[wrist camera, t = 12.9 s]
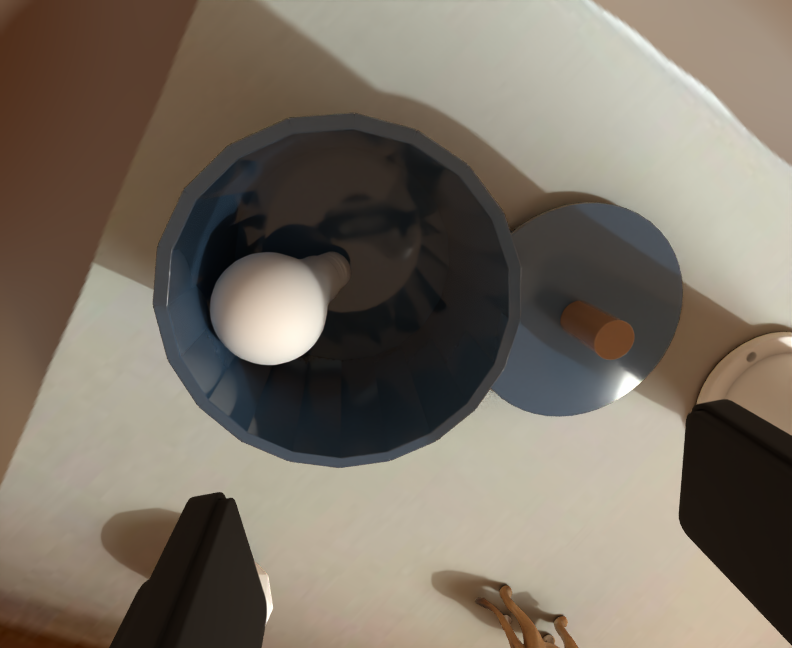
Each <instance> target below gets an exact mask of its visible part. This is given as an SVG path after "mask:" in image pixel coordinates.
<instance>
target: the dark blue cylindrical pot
mask: <svg viewBox="0 0 792 648" xmlns="http://www.w3.org/2000/svg"><path fill="white" fill-rule="evenodd" d="M263 252H274V253H280V254H284V255H287V256H291V257H294V258H297V259H303V258H306V257H308V256H318V255H321V254H323V253H327V252H337V253H339V254H341V255H342V256H344V257H345V258H346V260H347V261H348V263H349V265H350V268H351V277H350V279H349V281H348V282H347V284H346V285H345V286H343V287H342V288H341V289H340V290H339V292H338V294H337V296H336V297H335V298H334V299H333V300H332V301H331V302H330V303H329V304H328V308H327V316H326V321H325V325H324V328H323V331H322V333H321V334H320V336H319V338H318V340H317V341H316V343H315V344H314V345H313V346H312V347H311V348H310V349H309V350H308V351H307V352H306V353H305V354H303V355H302V356H300V357H298V358H296V359H294V360H292V361H289V362H286V363H282V364H277V365H262V364H256V363H252V362H249V361H247V360H244V359H241V358H240V357H238V356H236V355H234V354H233V353H232V352H231V351H229V350H228V349H227V348H226V347H225V346H224V345H223V343H222V342H221V341H220V339H219V338H218V336H217V334H216V332H215V330H214V328H213V325H212V322H211V318H210V301H211V295H212V292H213V289H214V286H215V283H216V282H217V280H218V279H219V277H220V276H221V274H222V273H223V272H224V271H225V270H226V269H227V268H228V267H229V266H230V265H232V264H233V263H234V262H235V261H237V260H239V259H241V258H243V257H245V256H248V255H250V254H255V253H263ZM520 265H521V263H520V260H519V257H518V254H517V251H516V248H515V245H514V242H513V239H512V236H511V232H510V229H509V226H508V223H507V220H506V217H505V214H504V212H503V210H502V209H501V208H500V206H499V205H498V204H497V202H496V201H495V199H494V198H493V197H492V195H491V194H490V193H489V191H488V190H487V189H486V187H485V186H484V185H483V183H482V182H481V181H480V179H479V178H478V177H477V175H476V174H475V173H474V171H473V170H472V169H471V167H470V166H469V165H468V164H467V163H465V162H464V161H463V160H461V159H460V158H458V157H457V156H455V155H454V154H452V153H451V152H449V151H448V150H446V149H445V148H443V147H442V146H441V145H439V144H438V143H436V142H435V141H433V140H432V139H430V138H429V137H427V136H426V135H424V134H423V133H421V132H420V131H419V130H417V131H416V129H414V128H410V127H406V126H403V125H399V124H395V123H391V122H388V121H384V120H380V119H377V118H373V117H369V116H365V115H362V114H358V113H355V114H354V113H342V114H329V115H316V116H303V117H290V118H289V119H288V118H287V119H284V120H282V121H280V122H278V123H276V124H273V125H271V126H269V127H267V128H265V129H262V130H260V131H258V132H256V133H254V134H251V135H249V136H247V137H245V138H242V139H240V140H238V141H236V142H234V143H231V144H230V146H229V145H228V146H227V147H226V148H225V149H224V150H223V151H222V152H221V153H220V154H219V155H218V156H217V157H216V158H215V159H214V160H213V161H212V162H211V163H210V164H209V165H208V166H206V167H205V168H204V169H203V170H202V171H201V172H200V173H199V174H198V175H197V176H196V177H195V178H194V179H193V180H192V181H191V182H190V183H189V184H188V185H187V186H186V187H185V188H184V190H183V191H182V193H181V196H180V198H179V200H178V202H177V204H176V206H175V208H174V211H173V213H172V215H171V217H170V219H169V221H168V224H167V226H166V228H165V230H164V232H163V234H162V237H161V239H160V241H159V243H158V246H157V254H156V267H155V280H154V293H153V308H154V312H155V315H156V319H157V323H158V326H159V330H160V334H161V338H162V341H163V345H164V349H165V352H166V356H167V359H168V362H169V363H170V365H171V366H172V368H173V369H174V371H175V372H176V374H177V375H178V377H179V378H180V380H181V381H182V383H183V384H184V386H185V387H186V389H187V390H188V392H189V393H190V395H191V396H192V398H193V399H194V401H195V402H196V404H197V405H198V406H199V408H201V409H202V410H203V411H204V412H205V413H207V414H208V415H209V416H210V417H212V418H213V419H214V420H215V421H216V422H218V423H219V424H220V425H221V426H223V427H224V428H225V429H226V430H228V431H229V432H230V433H231V434H232V435H234V436H235V437H236V438H237V439H239V440H240V441H241V442H244V443H246V444H248V445H251V446H253V447H256V448H258V449H260V450H263V451H265V452H267V453H270V454H272V455H274V456H277V457H279V458H282V459H284V460H286V461H289V462H296V463H304V464H312V465H320V466H327V467H335V468H344V467H351V466H358V465H365V464H372V463H380V462H387V461H390V460H394V459H396V458H398V457H401V456H403V455H405V454H408V453H410V452H412V451H415V450H417V449H419V448H422V447H424V446H426V445H429V444H431V443H433V442H435V441H436V440H439V439H440V438H441V437H442V436H444V435H445V434H446V433H447V432H449V431H450V430H451V429H452V428H454V427H455V426H456V425H457V424H458V423H460V422H461V421H462V420H463V419H465V418H466V417H467V416H468V415H470V414H471V413H472V412H473V411H475V409H476V408H477V407H478V406H479V404H480V403H481V401H482V400H483V398H484V397H485V396H486V394H487V393H488V391H489V390H490V388H491V387H492V386H493V384H494V383H495V381H496V380H497V378H498V377H499V376H500V374H501V373H502V371H503V370H504V368H505V366H506V363H507V360H508V357H509V354H510V351H511V348H512V345H513V342H514V339H515V336H516V333H517V330H518V326H519V323H520V320H521V319H520V318H521V266H520Z"/></svg>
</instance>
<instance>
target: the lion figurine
mask: <svg viewBox="0 0 792 648" xmlns="http://www.w3.org/2000/svg"><path fill="white" fill-rule="evenodd" d="M499 593H500V597H501V598H502V600H503V602H504V604H505V605H506V607H507V608H508V610H509V611H510V612H512V613H513V615H514V616H515V617H516V619H517V621H518V623H519V625H520V627H521V629H522V633H523V639H524V644H522V643H521V641H520V640H519V639H518V638H517V636H516V635H515V633H514V631H513V629H512V628H511V626H510V624H511V623H512V621H511V618H510V617H509V616H508V615H503V614H502V613H501V612H500V611H499V610H498V609H497V608H496V607H495V606H494V605H492V604H491V603H490V602H488V601H487V600H486V599H484V598H477V599H476V600H475V602H476V604H478V605H480V606H483V607H484V608H487V609H489V610H491V611H492V612H494V613H495V614H496V615H497V617H498V618H499V621H500V624H501V625H502V628H503V630H504V631H505V633H506V635H507V638H508V640H509V644H510V647H511V648H559V647H557V646H556V645H555V644H554V642H555V639H554V637H553V636H552V635H547V636H544V638H543V639H542V637H541V635H540V633H539V632H538V630H537V628H536V627H535V625H534V624H533V622H532V621H531V620H530V618H529V617H528V616H527V615H526V614H525V613H524V612H523V611H522V610H521V609H520V608H519V607H518V606H517V605H516V604H515V603H514V602H513V600H512V599H511V598H510V597H511V596H512V590H511V588H510V587H509V586H503V587H502V588H501V589H500V591H499ZM567 623H568V621H567V619H566V617H565V616H561V617H558V618H557V619H556V620H555V621H554V626H555V629H556V631H557V633H558V634H559V636H560V637H561V638H562V640H563V642H564V648H578V646H577V645H576V643H575V641H574V640H573V639H572V637H571V636H570V635H569V634H568V632H567V631H566V629H565V628H564V627H566V626H567Z"/></svg>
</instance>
